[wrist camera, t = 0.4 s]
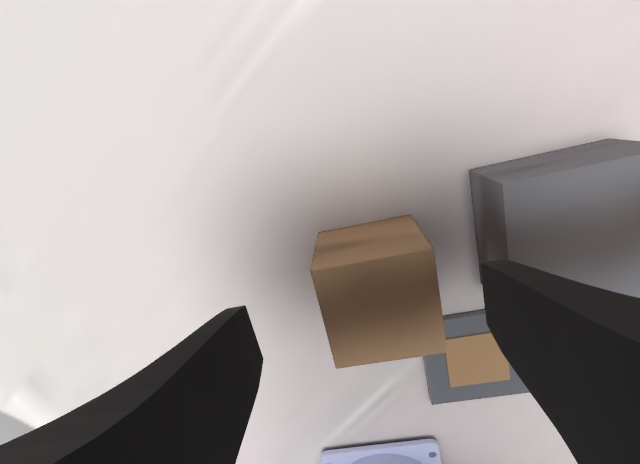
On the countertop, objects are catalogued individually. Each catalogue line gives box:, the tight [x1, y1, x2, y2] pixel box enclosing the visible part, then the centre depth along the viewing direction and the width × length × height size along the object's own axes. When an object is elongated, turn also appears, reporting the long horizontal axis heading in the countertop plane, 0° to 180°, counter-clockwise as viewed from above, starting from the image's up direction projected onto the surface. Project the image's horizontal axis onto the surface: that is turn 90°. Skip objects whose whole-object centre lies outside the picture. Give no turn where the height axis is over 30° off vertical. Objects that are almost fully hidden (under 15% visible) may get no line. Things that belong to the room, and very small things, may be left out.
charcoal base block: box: [469, 139, 640, 298], centre depth 16 cm, size 6×6×4 cm
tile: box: [423, 310, 530, 405], centre depth 20 cm, size 6×6×1 cm
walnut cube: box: [311, 215, 447, 369], centre depth 17 cm, size 5×5×5 cm
